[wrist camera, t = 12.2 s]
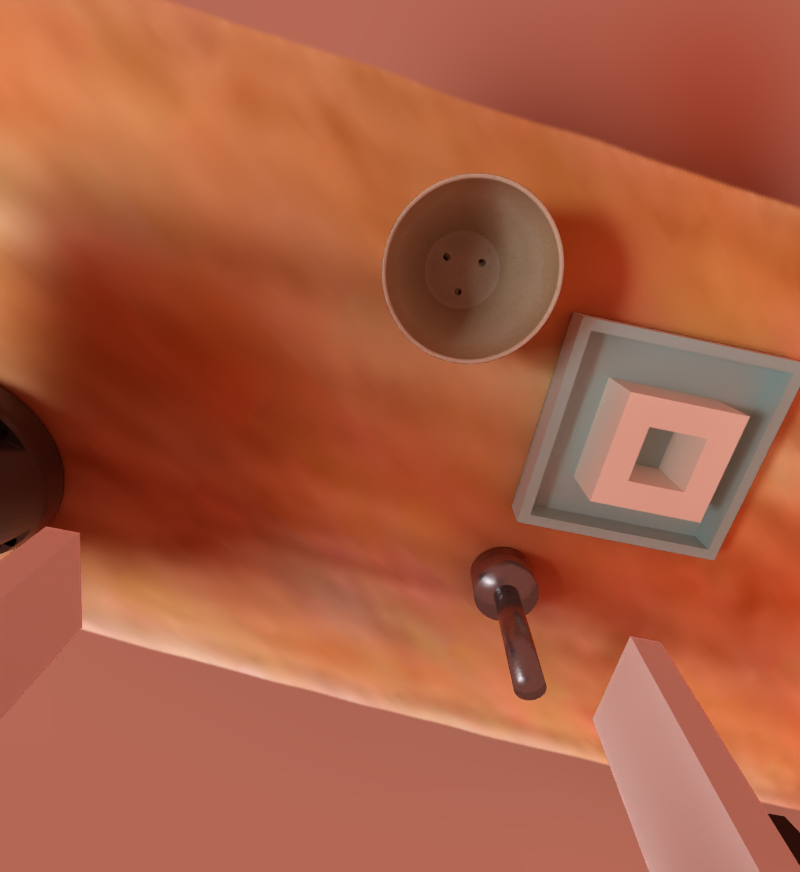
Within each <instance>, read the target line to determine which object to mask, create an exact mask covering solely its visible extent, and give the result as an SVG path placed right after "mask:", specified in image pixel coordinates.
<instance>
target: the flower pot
mask: <svg viewBox="0 0 800 872" xmlns="http://www.w3.org/2000/svg"><path fill="white" fill-rule="evenodd" d="M443 257H446V258H447V259H448V260H445V259H444V258H443ZM481 259H483V262H481V263H479V261H480V260H481ZM563 275H564V251H563V245H562V241H561V238H560V234H559V231H558V228H557V226H556V224H555V222H554V220H553V218H552V216H551V214H550V213H549V211H548V210H547V208H546V207H545V206H544V204H543V203H542V202H541V201H540V200H539V199H538V198H537V197H536V196H535V195H534V194H533V193H532V192H531V191H529V190H528V189H527V188H525V187H524V186H522V185H520V184H519V183H517V182H515V181H513V180H510V179H508V178H505V177H502V176H498V175H493V174H485V173H468V174H462V175H456V176H453V177H450V178H447V179H444V180H442V181H440V182H437V183H436V184H434V185H432V186H430V187H429V188H427V189H426V190H424V191H423V192H421V193H420V194H419V195H418V196H416V197H415V198H414V199H413V200H412V201H411V202H410V203H409V204H408V205H407V207H406V208H405V209H404V210H403V211H402V213H401V214H400V216H399V217H398V219H397V220H396V222H395V224H394V226H393V228H392V230H391V232H390V234H389V237H388V240H387V243H386V246H385V250H384V254H383V261H382V285H383V292H384V296H385V300H386V303H387V306H388V309H389V311H390V313H391V315H392V317H393V319H394V321H395V323H396V324H397V326H398V327H399V329H400V330H401V331H402V333H403V334H404V335H405V336H406V337H407V338H408V339H409V340H410V341H411V342H412V343H413V344H414V345H415V346H417V347H418V348H420V349H421V350H423V351H424V352H426V353H427V354H429V355H431V356H433V357H436V358H438V359H441V360H444V361H448V362H452V363H459V364H478V363H485V362H490V361H493V360H496V359H499V358H502V357H504V356H506V355H509V354H510V353H512V352H514V351H516V350H517V349H519V348H520V347H522V346H523V345H524V344H526V343H527V342H528V341H529V340H530V339H531V338H533V337H534V336H535V335H536V334H537V332H538V331H539V330H540V329H541V328H542V326H543V325H544V324H545V323H546V321H547V320H548V318H549V316H550V315H551V313H552V311H553V309H554V307H555V305H556V303H557V300H558V297H559V294H560V291H561V287H562V282H563ZM459 290H461V294H459V293H458V292H459Z"/></svg>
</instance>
